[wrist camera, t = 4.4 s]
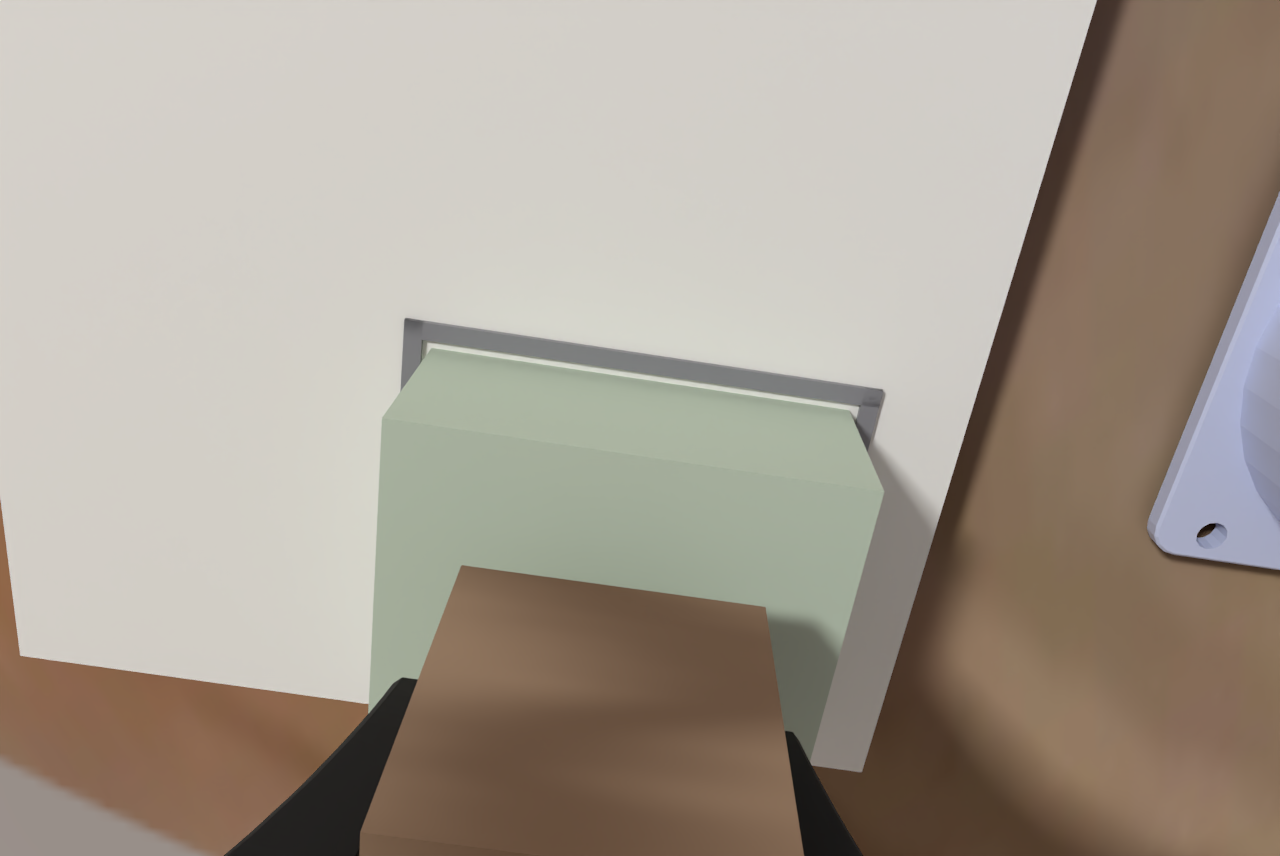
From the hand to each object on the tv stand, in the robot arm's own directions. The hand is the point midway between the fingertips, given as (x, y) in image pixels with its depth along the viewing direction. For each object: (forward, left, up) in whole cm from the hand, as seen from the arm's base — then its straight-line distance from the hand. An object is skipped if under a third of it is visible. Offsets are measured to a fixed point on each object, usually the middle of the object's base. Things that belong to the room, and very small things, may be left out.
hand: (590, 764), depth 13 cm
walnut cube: (0, 0, -1) cm, 1 cm away
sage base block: (0, 0, -5) cm, 5 cm away
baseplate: (+3, -4, -6) cm, 8 cm away
